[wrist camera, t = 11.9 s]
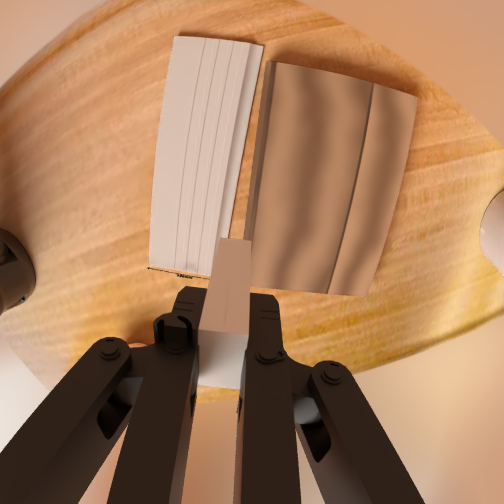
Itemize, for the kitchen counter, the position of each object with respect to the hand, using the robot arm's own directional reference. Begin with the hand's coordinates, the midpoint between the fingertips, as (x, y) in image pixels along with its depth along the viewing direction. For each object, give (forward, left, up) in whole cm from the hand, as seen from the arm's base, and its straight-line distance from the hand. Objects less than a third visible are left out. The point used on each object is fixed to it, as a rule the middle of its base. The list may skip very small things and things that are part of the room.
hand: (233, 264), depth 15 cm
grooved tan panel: (+10, -1, -24) cm, 26 cm away
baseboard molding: (-5, 0, -25) cm, 25 cm away
